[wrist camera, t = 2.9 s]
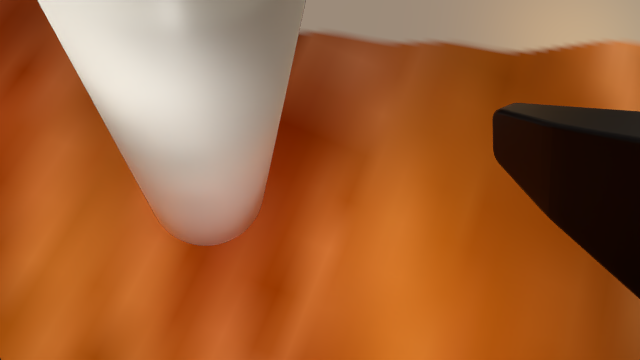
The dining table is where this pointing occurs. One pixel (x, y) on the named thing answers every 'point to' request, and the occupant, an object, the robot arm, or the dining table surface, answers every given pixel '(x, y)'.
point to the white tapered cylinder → (187, 98)
